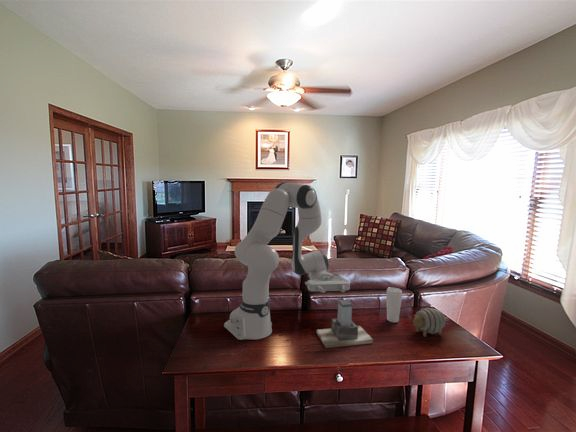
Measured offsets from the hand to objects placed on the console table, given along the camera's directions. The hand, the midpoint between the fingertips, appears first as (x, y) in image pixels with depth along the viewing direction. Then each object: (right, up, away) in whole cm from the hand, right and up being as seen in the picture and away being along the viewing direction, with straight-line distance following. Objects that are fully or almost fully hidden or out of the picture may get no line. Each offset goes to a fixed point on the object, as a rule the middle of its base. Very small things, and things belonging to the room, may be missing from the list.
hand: (334, 290), depth 132 cm
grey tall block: (+3, -16, -10) cm, 19 cm away
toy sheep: (+41, -18, -5) cm, 45 cm away
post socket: (+3, -17, -10) cm, 20 cm away
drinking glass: (+29, -16, +7) cm, 34 cm away
